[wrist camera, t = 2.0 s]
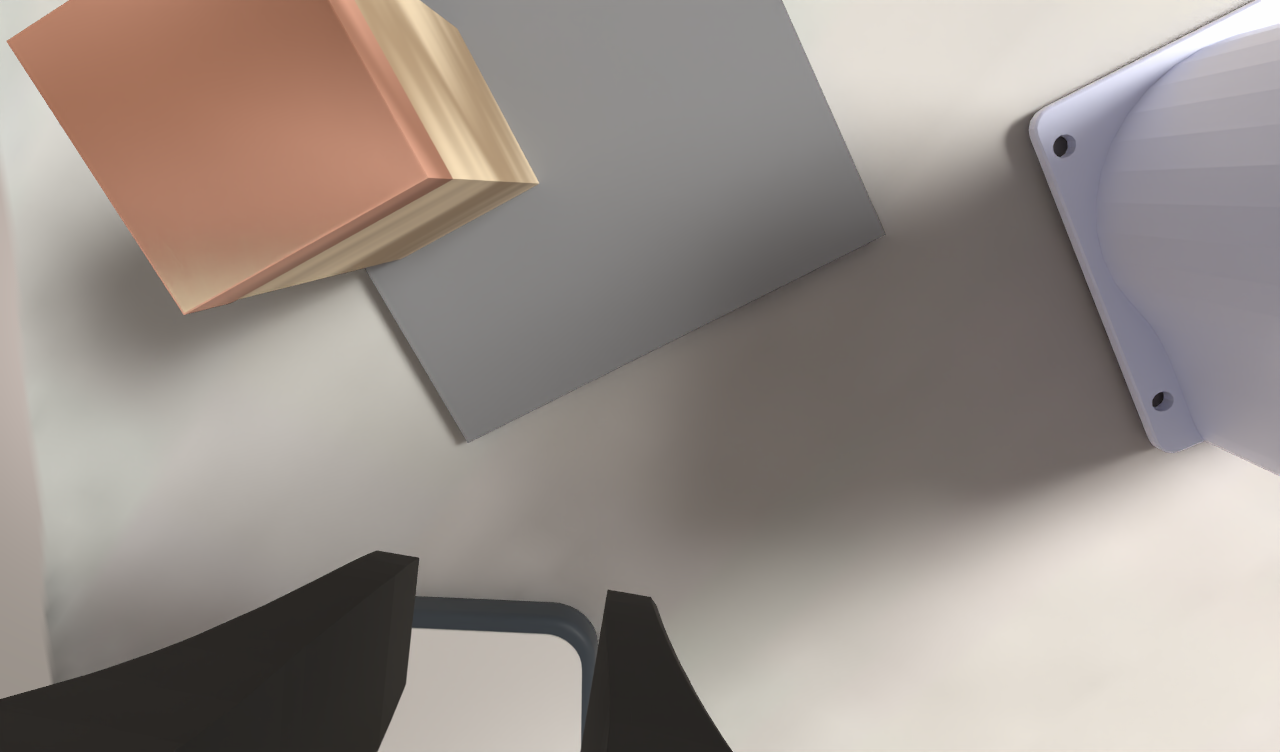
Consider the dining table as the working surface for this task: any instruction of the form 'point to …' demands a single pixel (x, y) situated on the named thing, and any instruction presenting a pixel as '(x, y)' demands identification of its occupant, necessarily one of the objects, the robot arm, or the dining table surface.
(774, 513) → the dining table surface
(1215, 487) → the dining table surface
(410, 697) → the phone case
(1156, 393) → the robot arm
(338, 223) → the birch block
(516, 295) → the rubber mat
